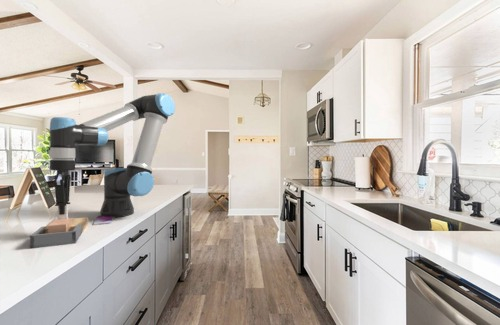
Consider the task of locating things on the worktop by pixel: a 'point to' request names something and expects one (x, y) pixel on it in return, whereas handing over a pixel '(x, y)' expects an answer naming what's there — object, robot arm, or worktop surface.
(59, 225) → the tile
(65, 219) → the tile
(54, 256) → the worktop surface
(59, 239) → the tray
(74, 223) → the board
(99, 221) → the smartphone
